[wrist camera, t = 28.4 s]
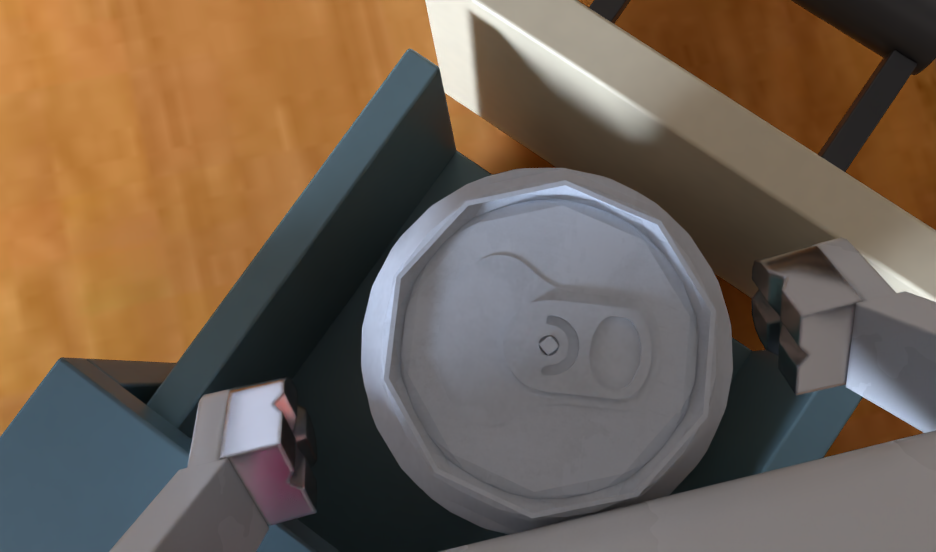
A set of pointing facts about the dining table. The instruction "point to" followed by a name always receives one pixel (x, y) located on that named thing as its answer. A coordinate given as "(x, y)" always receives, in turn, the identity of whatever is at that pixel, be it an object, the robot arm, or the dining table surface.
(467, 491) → the beer can
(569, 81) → the drawer
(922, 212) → the dining table surface
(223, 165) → the dining table surface
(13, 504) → the cabinet
